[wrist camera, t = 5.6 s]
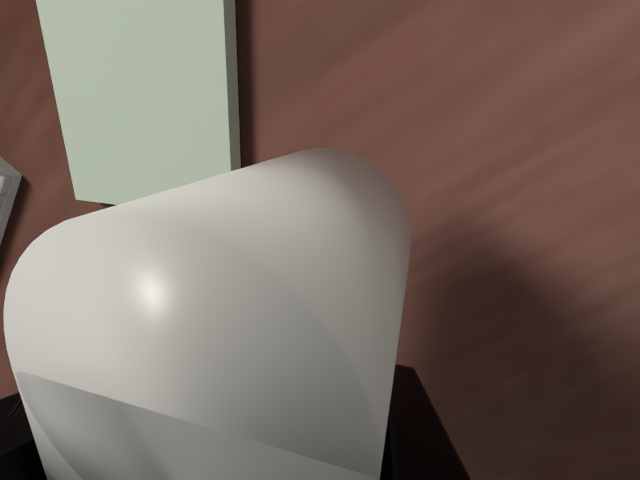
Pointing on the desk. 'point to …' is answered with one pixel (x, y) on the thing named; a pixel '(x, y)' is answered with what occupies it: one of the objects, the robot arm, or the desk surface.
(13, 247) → the desk surface
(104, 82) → the sage mat
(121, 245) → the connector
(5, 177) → the hard drive
